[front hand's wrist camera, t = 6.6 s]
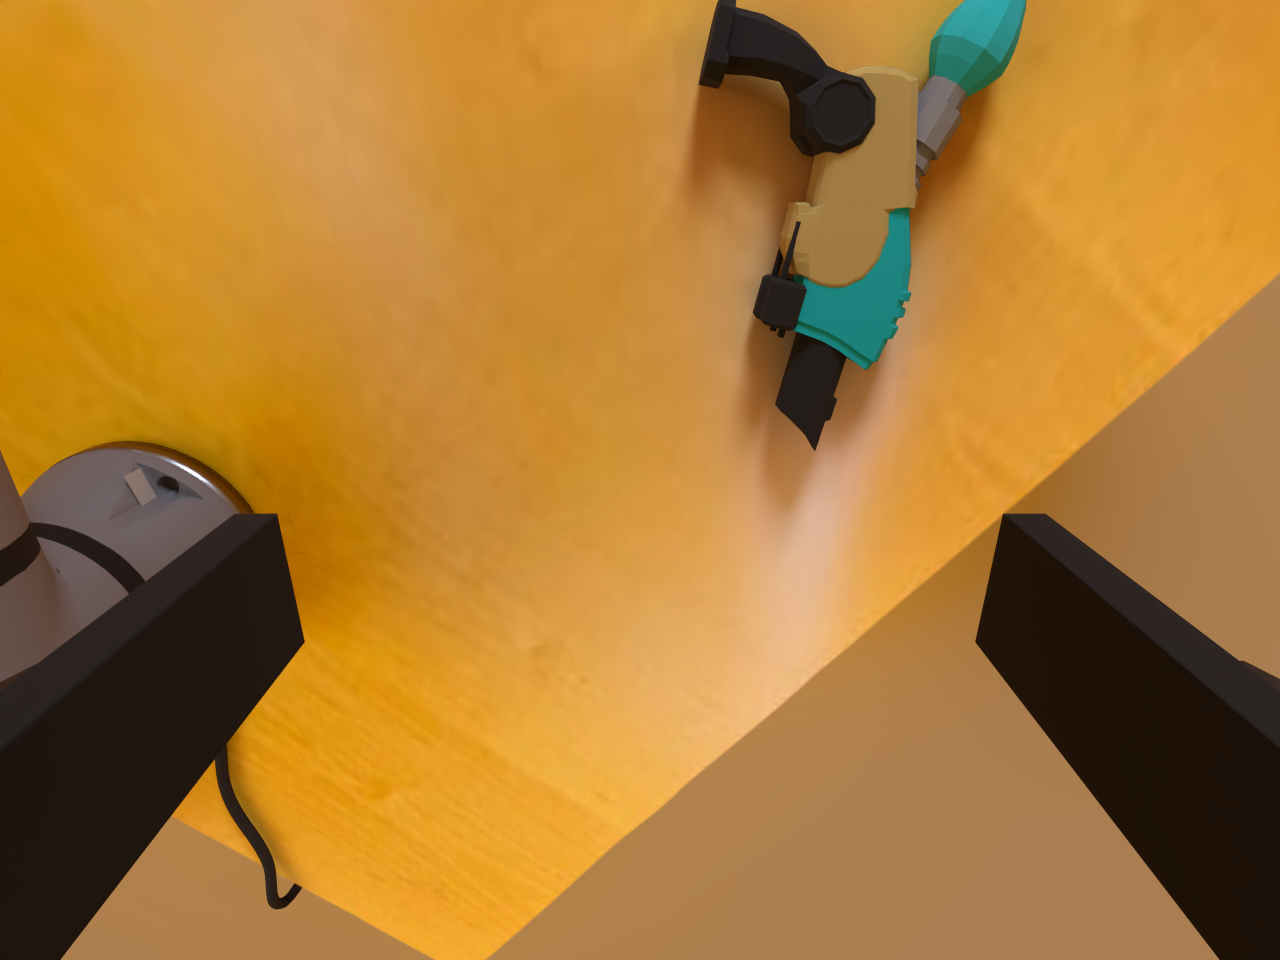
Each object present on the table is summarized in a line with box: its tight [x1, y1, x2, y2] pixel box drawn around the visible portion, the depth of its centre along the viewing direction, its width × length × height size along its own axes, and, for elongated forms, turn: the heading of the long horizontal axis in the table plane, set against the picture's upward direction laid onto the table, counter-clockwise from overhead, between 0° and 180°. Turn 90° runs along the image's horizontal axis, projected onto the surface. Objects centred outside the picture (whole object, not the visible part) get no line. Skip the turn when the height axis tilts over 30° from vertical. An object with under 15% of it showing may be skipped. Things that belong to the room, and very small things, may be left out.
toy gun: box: [699, 0, 1026, 450], centre depth 37 cm, size 4×26×15 cm
